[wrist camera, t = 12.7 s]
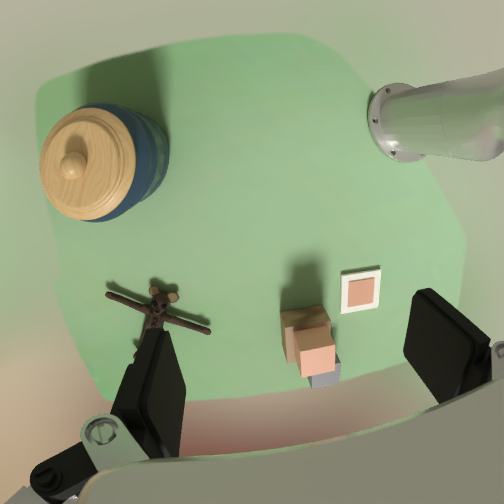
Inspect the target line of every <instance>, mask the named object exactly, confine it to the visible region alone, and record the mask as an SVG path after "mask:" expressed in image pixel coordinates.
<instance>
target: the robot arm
mask: <svg viewBox="0 0 504 504" xmlns="http://www.w3.org/2000/svg"><path fill="white" fill-rule="evenodd" d="M373 120H374V122H373ZM368 124H369V128H370V132H371V135H372V137H373V139H374V141H375V143H376V145H377V146H378V147H379V148H380V150H381V151H382V152H383V153H384V154H386V155H387V156H388V157H390V158H392V159H393V160H396V161H399V162H415V161H418V160H420V159H422V158H424V157H425V156H426V155H435V156H443V157H452V158H458V159H465V160H471V161H472V160H473V161H489V160H491V159H494V158H496V157H497V156H499V155H500V154H501V153H502V152H503V151H504V68H502V69H499V70H496V71H493V72H489V73H486V74H482V75H478V76H473V77H468V78H463V79H457V80H452V81H447V82H442V83H437V84H432V85H428V86H423V87H419V88H414V87H412V86H410V85H408V84H403V83H393V84H389V85H386V86H384V87H382V88H381V89H379V90H378V91H377V92H376V93H375V95H374V96H373V98H372V100H371V102H370V105H369V110H368ZM391 151H392V153H391ZM490 340H491V339H490V338H489V337H488V336H487V335H486V334H484V332H482V331H481V330H480V329H479V328H478V327H477V326H476V325H474V324H473V323H472V322H471V321H470V320H469V319H468V318H466V317H465V316H464V315H463V314H462V313H460V312H459V311H458V310H457V309H456V308H455V307H453V306H452V305H451V304H450V303H449V302H447V301H446V300H445V299H444V298H443V297H441V296H440V295H439V294H438V293H436V292H435V291H434V290H433V289H431V288H426V289H421V290H418V291H417V292H416V293H415V295H413V298H412V304H411V310H410V316H409V322H408V328H407V333H406V338H405V343H404V348H403V352H404V356H405V358H406V359H407V360H408V362H409V363H410V364H411V366H412V367H413V368H414V370H415V371H416V372H417V374H418V375H419V376H420V378H421V379H422V381H423V382H424V383H425V385H426V386H427V387H428V389H429V390H430V392H431V393H432V394H433V396H434V397H435V399H436V400H437V401H438V403H439V405H436V406H434V407H431V408H429V409H426V410H424V411H421V412H418V413H415V414H413V415H410V416H407V417H404V418H401V419H398V420H395V421H392V422H389V423H386V424H383V425H380V426H377V427H373V428H370V429H366V430H362V431H359V432H356V433H351V434H347V435H344V436H339V437H336V438H331V439H326V440H322V441H317V442H312V443H307V444H301V445H296V446H290V447H284V448H278V449H270V450H263V451H254V452H245V453H235V454H224V455H210V456H189V457H179V448H180V438H181V430H182V421H183V413H184V405H185V397H186V386H185V383H184V380H183V376H182V373H181V370H180V367H179V364H178V360H177V357H176V354H175V350H174V347H173V344H172V340H171V337H170V333H169V331H164V329H163V328H162V327H159V328H147V329H146V332H145V334H144V337H143V339H142V342H141V344H140V347H139V350H138V352H137V355H136V357H135V360H134V363H133V364H129V365H128V367H127V369H126V371H125V374H124V377H123V379H122V382H121V385H120V387H119V390H118V393H117V395H116V398H115V401H114V404H113V407H112V409H111V412H110V414H101V415H97V416H94V417H92V418H91V419H89V420H87V421H86V423H85V424H84V425H83V427H82V429H81V432H80V437H81V440H82V441H81V442H79V443H77V444H76V445H74V446H72V447H70V448H68V449H66V450H65V451H63V452H61V453H59V454H57V455H55V456H53V457H51V458H49V459H47V460H46V461H44V462H42V463H40V464H38V465H37V466H36V467H35V468H34V469H33V470H32V473H31V475H30V484H31V485H30V486H29V487H28V488H26V487H25V486H23V487H22V488H21V489H20V490H19V491H17V492H16V493H15V494H14V495H13V496H12V497H11V498H10V499H9V500H8V501H7V502H5V503H4V504H504V341H500V342H496V343H495V344H494V345H493V346H492V348H491V347H490V346H489V343H490Z"/></svg>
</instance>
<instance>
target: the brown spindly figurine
mask: <svg viewBox="0 0 504 504" xmlns="http://www.w3.org/2000/svg"><path fill="white" fill-rule="evenodd" d="M149 293H150V294H151V295H152V296H153V298H152V307H149V306H147V305H146V304H141V303H138V302H135V301H132V300H130V299H128V298H125V297H123V296H121V295H118V294H115V293H112V292H106V294H105V296H106V297H107V298H109V299H112V300H115V301H118V302H120V303H123V304H125V305H127V306H129V307H131V308H133V309H136V310H138V311H140V312H142V313H145V314H147V315H148V317H147V319H146V322H145V327H144V331H143V335H142V338H141V340H140V344H141V342H142V339H143V337H144V334H145V332H146V329H147V328H159V327H162V328H163V324H164V321H166V322H169V323H172V324H176V325H179V326H183V327H186V328H189V329H193V330H196V331H199V332H201V333H203V334H206V335H210V334H211V330H210V329H209V328H206V327H203V326H201V325H198V324H195V323H192V322H189V321H186V320H183V319H181V318H178V317H176V316H173V315H170V314H168V313H167V312H166V311H165V310H166V309H167V308H168V306H169V305H170V303H174V302H176V301H177V300H178V299H179V295H178V294H177V293H175V292H169V293H168V294H167V293H165V292H163V291H160V290H159V288H158V287H157V286H151V287H150V288H149ZM139 347H140V346H139ZM138 350H139V348H138ZM138 350H137V351H136V352H135V354H134V356H133V358H134V359H135V357H136V355H137V352H138Z"/></svg>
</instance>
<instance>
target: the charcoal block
mask: <svg viewBox="0 0 504 504" xmlns="http://www.w3.org/2000/svg"><path fill="white" fill-rule="evenodd" d="M340 366H341V362H340V360H339V358H338V356H337V354H336V352H335V371H331V372H327V373H322V374H317V375H313V376H308V380H309V383H310V386H311V389H314V388H319V387H324V386H329V385H334V384H338V383H339V378H340Z"/></svg>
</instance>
